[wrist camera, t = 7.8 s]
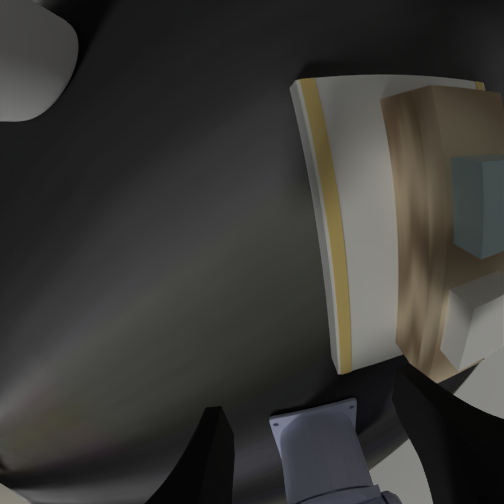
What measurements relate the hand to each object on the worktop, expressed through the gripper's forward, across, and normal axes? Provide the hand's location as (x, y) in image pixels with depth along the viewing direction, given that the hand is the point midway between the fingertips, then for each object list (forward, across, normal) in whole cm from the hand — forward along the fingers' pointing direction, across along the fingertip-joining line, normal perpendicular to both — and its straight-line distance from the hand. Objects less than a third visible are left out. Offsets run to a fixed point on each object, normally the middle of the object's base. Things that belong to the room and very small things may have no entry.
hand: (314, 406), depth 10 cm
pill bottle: (+10, +14, -20) cm, 26 cm away
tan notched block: (+7, -10, -4) cm, 13 cm away
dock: (+9, -10, -4) cm, 14 cm away
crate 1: (+2, -9, -7) cm, 12 cm away
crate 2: (+2, -10, 0) cm, 10 cm away
